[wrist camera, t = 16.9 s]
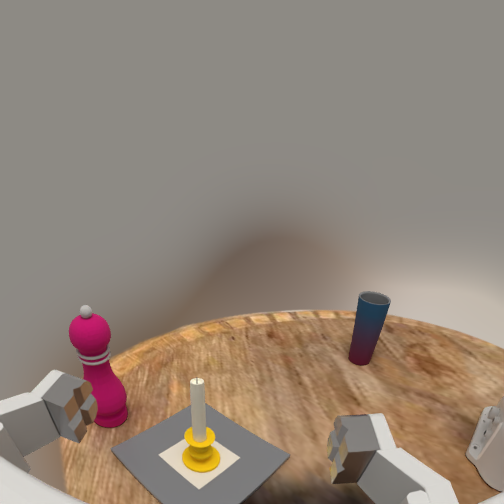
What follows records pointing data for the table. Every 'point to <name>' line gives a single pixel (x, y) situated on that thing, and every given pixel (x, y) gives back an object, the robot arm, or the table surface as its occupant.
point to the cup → (368, 326)
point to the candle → (199, 434)
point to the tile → (194, 483)
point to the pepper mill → (99, 366)
